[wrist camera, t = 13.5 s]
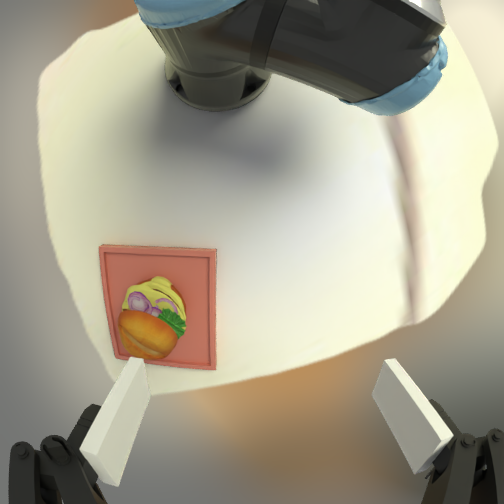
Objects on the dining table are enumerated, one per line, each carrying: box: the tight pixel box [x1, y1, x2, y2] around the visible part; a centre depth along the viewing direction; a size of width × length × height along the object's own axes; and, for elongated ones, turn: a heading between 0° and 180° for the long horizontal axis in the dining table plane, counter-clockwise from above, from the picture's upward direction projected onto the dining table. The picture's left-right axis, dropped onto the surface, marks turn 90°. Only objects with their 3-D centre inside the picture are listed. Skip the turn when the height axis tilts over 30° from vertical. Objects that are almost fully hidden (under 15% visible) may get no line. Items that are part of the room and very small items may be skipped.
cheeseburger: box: [117, 276, 186, 360], centre depth 36 cm, size 10×11×10 cm
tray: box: [99, 245, 217, 370], centre depth 40 cm, size 20×18×2 cm
